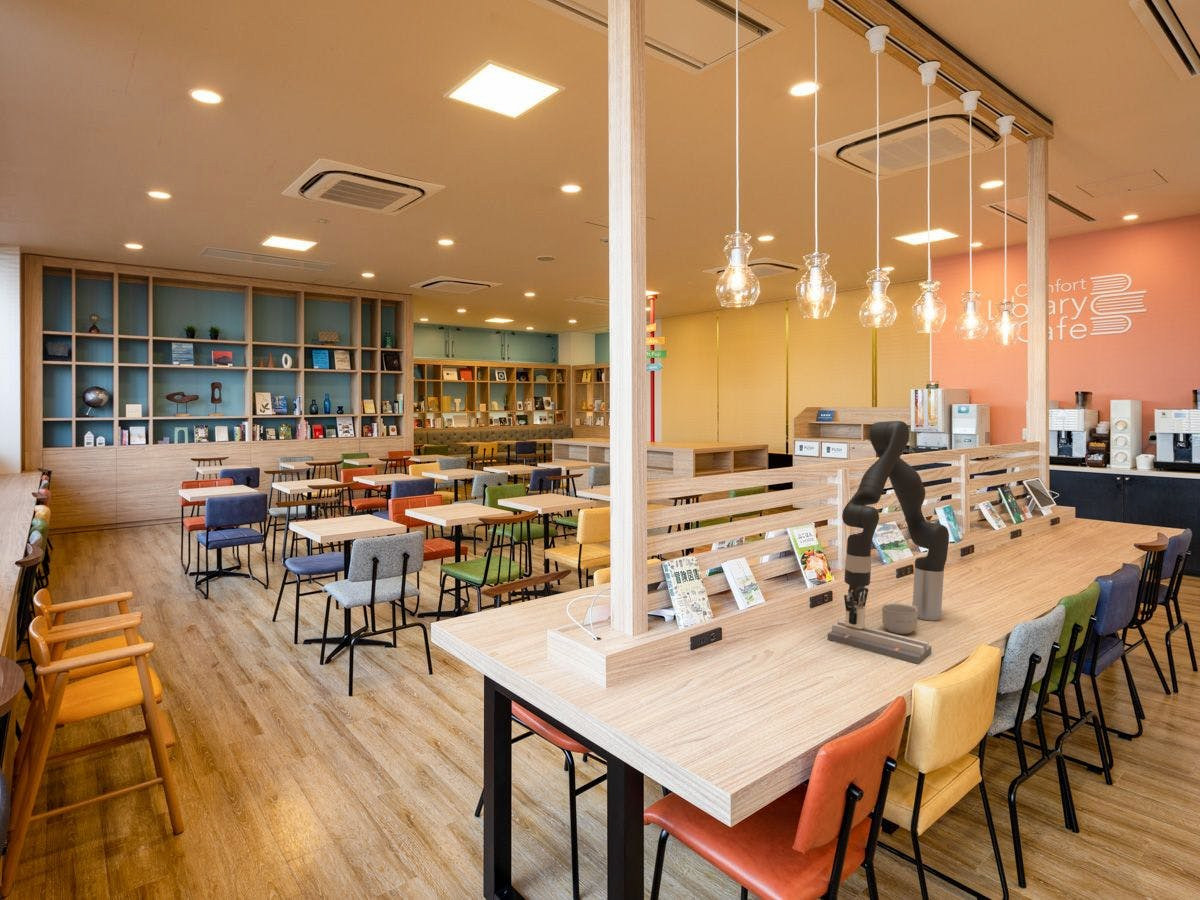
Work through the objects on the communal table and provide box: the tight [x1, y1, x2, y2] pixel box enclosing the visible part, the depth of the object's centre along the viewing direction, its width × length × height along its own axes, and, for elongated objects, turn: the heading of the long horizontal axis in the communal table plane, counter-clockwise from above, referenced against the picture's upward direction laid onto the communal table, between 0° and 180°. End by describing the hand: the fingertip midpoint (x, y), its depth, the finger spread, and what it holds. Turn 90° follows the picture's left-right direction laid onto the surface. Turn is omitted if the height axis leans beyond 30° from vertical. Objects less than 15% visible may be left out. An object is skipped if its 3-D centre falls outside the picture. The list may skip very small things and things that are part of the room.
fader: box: [844, 606, 867, 631], centre depth 211 cm, size 3×5×8 cm, turn 47°
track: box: [827, 620, 932, 665], centre depth 207 cm, size 12×27×4 cm, turn 47°
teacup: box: [881, 603, 919, 635], centre depth 221 cm, size 14×11×8 cm
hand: (854, 622), depth 211 cm, fingers closed on fader, 3 cm apart
